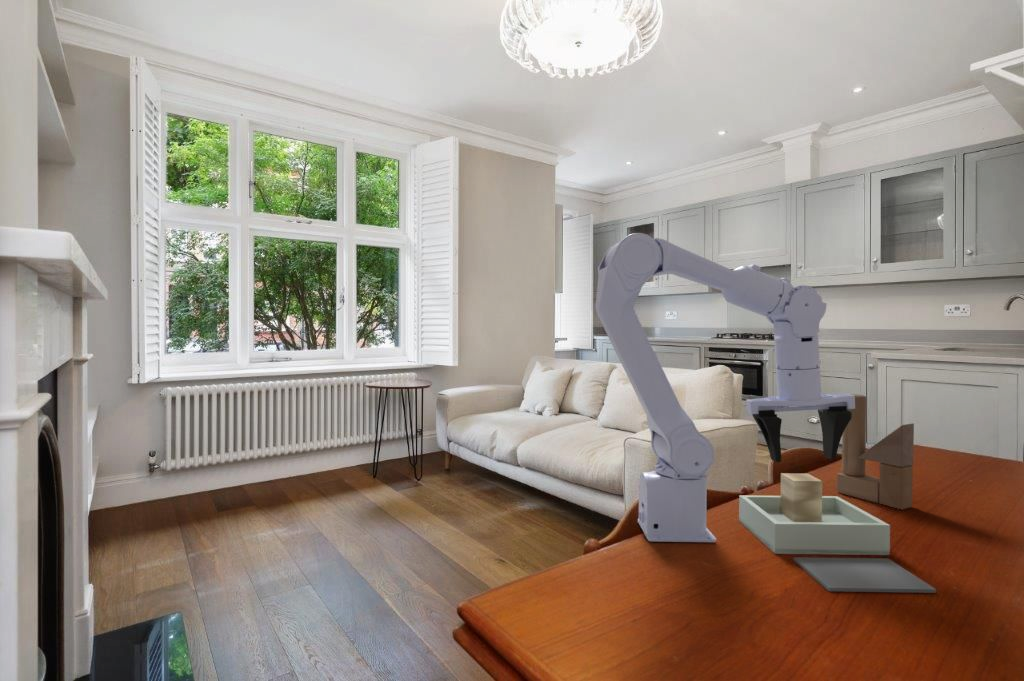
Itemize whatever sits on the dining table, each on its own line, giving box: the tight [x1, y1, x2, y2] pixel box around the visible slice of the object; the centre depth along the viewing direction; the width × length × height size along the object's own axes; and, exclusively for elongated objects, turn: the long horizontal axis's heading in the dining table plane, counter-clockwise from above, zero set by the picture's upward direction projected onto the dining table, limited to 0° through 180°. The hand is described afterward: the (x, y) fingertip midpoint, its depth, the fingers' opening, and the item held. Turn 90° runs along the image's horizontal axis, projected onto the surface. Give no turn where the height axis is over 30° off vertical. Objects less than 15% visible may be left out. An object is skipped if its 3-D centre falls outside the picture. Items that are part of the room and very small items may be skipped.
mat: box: [793, 556, 937, 594], centre depth 64 cm, size 12×8×1 cm, turn 88°
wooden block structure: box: [836, 393, 915, 511], centre depth 92 cm, size 4×11×18 cm, turn 27°
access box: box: [738, 494, 891, 556], centre depth 76 cm, size 15×12×4 cm
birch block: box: [780, 472, 823, 522], centre depth 78 cm, size 4×4×6 cm
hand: (802, 459), depth 78 cm, fingers open, 7 cm apart
